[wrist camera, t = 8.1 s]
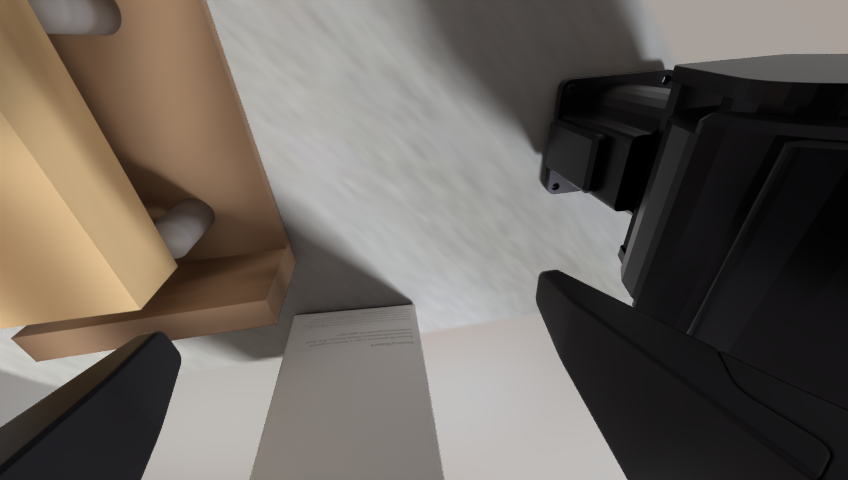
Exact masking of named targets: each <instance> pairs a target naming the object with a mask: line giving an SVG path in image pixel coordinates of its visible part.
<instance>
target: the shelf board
mask: <svg viewBox="0 0 848 480" xmlns="http://www.w3.org/2000/svg"><path fill="white" fill-rule="evenodd" d="M177 267H178V266H177V264H176V262H175V260H174V258H173V257H172V255H171V253H170V251H169V250H168V248H167V246H166V244H165V243H164V241H163V239H162V237H161V235H160V234H159V232H158V230H157V228H156V227H155V225H154V223H153V221H152V220H151V218H150V216H149V214H148V213H147V211H146V209H145V207H144V205H143V204H142V202H141V200H140V198H139V197H138V195H137V193H136V191H135V190H134V188H133V186H132V184H131V183H130V181H129V179H128V177H127V175H126V174H125V172H124V170H123V168H122V167H121V165H120V163H119V161H118V160H117V158H116V156H115V154H114V152H113V151H112V149H111V147H110V145H109V144H108V142H107V140H106V138H105V137H104V135H103V133H102V131H101V130H100V128H99V126H98V124H97V122H96V121H95V119H94V117H93V115H92V114H91V112H90V110H89V108H88V107H87V105H86V103H85V101H84V100H83V98H82V96H81V94H80V92H79V91H78V89H77V87H76V85H75V84H74V82H73V80H72V78H71V77H70V75H69V73H68V71H67V69H66V68H65V66H64V64H63V62H62V61H61V59H60V57H59V55H58V54H57V52H56V50H55V48H54V47H53V45H52V43H51V41H50V39H49V38H48V36H47V34H46V32H45V31H44V29H43V27H42V25H41V24H40V22H39V20H38V18H37V17H36V15H35V13H34V11H33V9H32V8H31V6H30V4H29V2H28V1H27V0H0V327H1V328H10V327H17V326H25V325H32V324H40V323H47V322H55V321H62V320H69V319H77V318H84V317H92V316H99V315H107V314H114V313H121V312H129V311H136V310H141V309H142V308H143V307H144V305H145V304H146V303H147V302H148V301H149V300H150V298H151V297H152V296H153V295H154V294H155V293H156V291H157V290H158V289H159V288H160V287H161V286H162V284H163V283H164V282H165V281H166V280H167V279H168V277H169V276H170V275H171V274H172V273H173V272H174V270H175V269H176V268H177Z"/></svg>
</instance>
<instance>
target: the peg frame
mask: <svg viewBox="0 0 848 480" xmlns="http://www.w3.org/2000/svg"><path fill="white" fill-rule="evenodd" d="M27 1H28V2H29V4H30V6H31V8H32V9H33V11H34V13H35V15H36V17H37V18H38V20H39V22H40V24H41V25H42V27H43V29H44V31H45V32H46V34H47V36H48V38H49V39H50V41H51V43H52V45H53V47H54V48H55V50H56V52H57V54H58V55H59V57H60V59H61V61H62V62H63V64H64V66H65V68H66V69H67V71H68V73H69V75H70V77H71V78H72V80H73V82H74V84H75V85H76V87H77V89H78V91H79V92H80V94H81V96H82V98H83V100H84V101H85V103H86V105H87V107H88V108H89V110H90V112H91V114H92V115H93V117H94V119H95V121H96V122H97V124H98V126H99V128H100V130H101V131H102V133H103V135H104V137H105V138H106V140H107V142H108V144H109V145H110V147H111V149H112V151H113V152H114V154H115V156H116V158H117V160H118V161H119V163H120V165H121V167H122V168H123V170H124V172H125V174H126V175H127V177H128V179H129V181H130V183H131V184H132V186H133V188H134V190H135V191H136V193H137V195H138V197H139V198H140V200H141V202H142V204H143V205H144V207H145V209H146V211H147V213H148V214H149V216H150V218H151V220H152V221H153V223H154V225H155V227H156V228H157V230H158V232H159V234H160V235H161V237H162V239H163V241H164V243H165V244H166V246H167V248H168V250H169V251H170V253H171V255H172V257H173V258H174V260H175V262H176V264H177V266H178V267H177V268H176V269H175V270H174V272H173V273H172V274H171V275H170V276H169V277H168V279H167V280H166V281H165V282H164V283H163V284H162V286H161V287H160V288H159V289H158V290H157V291H156V293H155V294H154V295H153V296H152V297H151V298H150V300H149V301H148V302H147V303H146V304H145V305H144V307H143V308H142V309H141V310H136V311H129V312H121V313H114V314H107V315H99V316H92V317H84V318H77V319H69V320H62V321H55V322H47V323H40V324H32V325H27V326H25V327H24V328H23V329H22V330H21V331H19V332H18V333H17V334H16V335H15V336H13V337H12V338H11V339H12V340H13V341H14V342H15V343H17V344H18V345H19V346H20V347H21V348H22V349H23V350H24V351H25V352H26V353H27V354H29V355H30V356H31V357H32V358H33V359H34V360H35V361H36V362H38V361H44V360H50V359H57V358H63V357H69V356H76V355H82V354H89V353H95V352H101V351H108V350H114V349H118V348H120V347H121V346H123V345H124V344H126V343H127V342H128V341H130V340H131V339H133V338H134V337H136V336H138V335H140V334H143V333H148V332H154V331H162V332H164V333H165V334H166V335H167V336H168V337H169V339H170V340H171V341H172V340H178V339H184V338H191V337H197V336H204V335H210V334H216V333H223V332H229V331H236V330H242V329H248V328H255V327H261V326H267V325H274V324H276V323H277V320H278V317H279V314H280V311H281V308H282V305H283V302H284V299H285V296H286V293H287V290H288V287H289V284H290V281H291V278H292V275H293V272H294V269H295V265H296V260H295V257H294V254H293V251H292V248H291V245H290V242H289V239H288V236H287V234H286V231H285V228H284V225H283V222H282V219H281V216H280V213H279V210H278V207H277V205H276V202H275V199H274V196H273V193H272V190H271V187H270V184H269V181H268V179H267V176H266V173H265V170H264V167H263V164H262V161H261V158H260V155H259V153H258V150H257V147H256V144H255V141H254V138H253V135H252V132H251V129H250V127H249V124H248V121H247V118H246V115H245V112H244V109H243V106H242V103H241V100H240V98H239V95H238V92H237V89H236V86H235V83H234V80H233V77H232V74H231V72H230V69H229V66H228V63H227V60H226V57H225V54H224V51H223V48H222V46H221V43H220V40H219V37H218V34H217V31H216V28H215V25H214V22H213V19H212V17H211V14H210V11H209V8H208V5H207V2H206V0H27Z"/></svg>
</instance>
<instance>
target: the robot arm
mask: <svg viewBox="0 0 848 480" xmlns="http://www.w3.org/2000/svg"><path fill="white" fill-rule="evenodd" d="M664 77H665V80H664V82H663V83H662V79H663V78H664ZM569 85H571V91H570V92H569V93H568V94H567V93H566V90H567V87H568V86H569ZM546 166H547V167H548V168H547V175H546V183H545V188H546V190H547V191H548V192H549V193H551V194H560V193H567V192H575V191H582V192H584V193H590V194H591V195H593V196H594V197H596V198H597V199H599V200H600V201H602V202H603V203H605V204H606V205H607V206H609V207H610V208H612V209H613V210H615V211H626V212H627V213H629V214H630V215H632V218H631V222H630V225H629V228H628V231H627V235H626V238H625V241H624V244H623V245H621V246H620V250H619V253H618V257H619V259H620V261H621V263H622V266H621V279H622V283H623V284H624V286H625V288H626V289H627V291H628V292H629V294H630V296H631V297H632V298H633V299H634V300H633V303H632V306H633V307H631V306H629V305H627V304H625V303H623V302H621V301H619V300H617V299H615V298H613V297H611V296H609V295H607V294H605V293H603V292H601V291H599V290H597V289H595V288H593V287H591V286H589V285H587V284H585V283H583V282H581V281H579V280H577V279H575V278H573V277H571V276H569V275H567V274H565V273H563V272H561V271H559V270H549V271H543V272H541V273H540V275H539V278H538V285H537V292H536V302H537V306H538V308H539V311H540V313H541V315H542V318H543V320H544V322H545V325H546V327H547V329H548V332H549V334H550V336H551V339H552V341H553V343H554V346H555V348H556V351H557V353H558V355H559V357H560V359H561V361H562V363H563V365H564V367H565V369H566V370H567V372H568V374H569V376H570V377H571V379H572V381H573V383H574V385H575V386H576V388H577V390H578V392H579V394H580V395H581V397H582V399H583V401H584V403H585V404H586V406H587V408H588V409H589V411H590V413H591V415H592V417H593V419H594V421H595V422H596V424H597V426H598V428H599V429H600V431H601V433H602V434H603V437H604V438H605V440H606V442H607V444H608V445H609V447H610V449H611V451H612V452H613V454H614V456H615V458H616V460H617V462H618V463H619V465H620V467H621V469H622V471H623V472H624V474H625V476H626V478H627V479H628V480H848V54H786V55H785V54H784V55H772V56H763V57H751V58H741V59H731V60H720V61H710V62H700V63H689V64H679V65H675V67H674V70H666V69H661V70H651V71H641V72H631V73H621V74H610V75H600V76H590V77H580V78H570V79H566V80H564V81H563V82H562V83H561V84H560V86H559V89H558V95H557V102H556V109H555V117H554V121H553V122H552V124H551V128H550V136H549V144H548V151H547V159H546ZM554 183H557V184H556V186H555V187H554V188H552V186H553V184H554ZM180 366H181V356H180V353H179V351H178V350H177V349H176V347H175V346H174V344H173V343H172V342H171V340H170V339H169V337H168V336H167V335H166V334H165V333H164V332H162V331H154V332H148V333H143V334H140V335H138V336H136V337H134V338H133V339H131V340H130V341H128V342H127V343H126V344H124V345H123V346H121V347H120V348H118V349H117V350H115V351H114V352H112V353H111V354H109V355H108V356H106V357H105V358H103V359H102V360H100V361H99V362H97V363H96V364H94V365H93V366H91V367H90V368H88V369H87V370H85V371H84V372H82V373H81V374H79V375H78V376H76V377H75V378H73V379H72V380H70V381H69V382H67V383H66V384H64V385H63V386H61V387H60V388H58V389H57V390H55V391H54V392H52V393H51V394H50V395H48V396H47V397H45V398H44V399H42V400H41V401H39V402H38V403H36V404H35V405H33V406H32V407H30V408H29V409H27V410H26V411H24V412H23V413H21V414H20V415H18V416H17V417H15V418H14V419H12V420H11V421H9V422H8V423H6V424H5V425H3V426H2V427H0V480H141V478H142V476H143V474H144V471H145V469H146V466H147V464H148V461H149V459H150V456H151V454H152V451H153V449H154V447H155V444H156V442H157V439H158V436H159V434H160V431H161V428H162V425H163V422H164V419H165V416H166V412H167V409H168V406H169V402H170V399H171V396H172V392H173V389H174V386H175V382H176V379H177V376H178V372H179V369H180Z"/></svg>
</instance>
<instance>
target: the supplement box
mask: <svg viewBox="0 0 848 480" xmlns="http://www.w3.org/2000/svg"><path fill="white" fill-rule="evenodd" d="M250 480H445V478H444V473H443V467H442V461H441V455H440V450H439V444H438V437H437V431H436V426H435V420H434V415H433V408H432V402H431V397H430V391H429V385H428V379H427V373H426V367H425V361H424V356H423V349H422V344H421V338H420V332H419V327H418V321H417V315H416V309H415V305H403V306H392V307H381V308H370V309H359V310H348V311H337V312H327V313H316V314H305V315H295V316H294V318H293V322H292V326H291V330H290V334H289V337H288V341H287V344H286V348H285V352H284V356H283V359H282V363H281V367H280V371H279V374H278V378H277V381H276V385H275V389H274V393H273V396H272V400H271V404H270V407H269V410H268V414H267V418H266V421H265V425H264V429H263V433H262V437H261V440H260V443H259V447H258V451H257V455H256V458H255V462H254V465H253V469H252V472H251V476H250Z"/></svg>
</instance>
